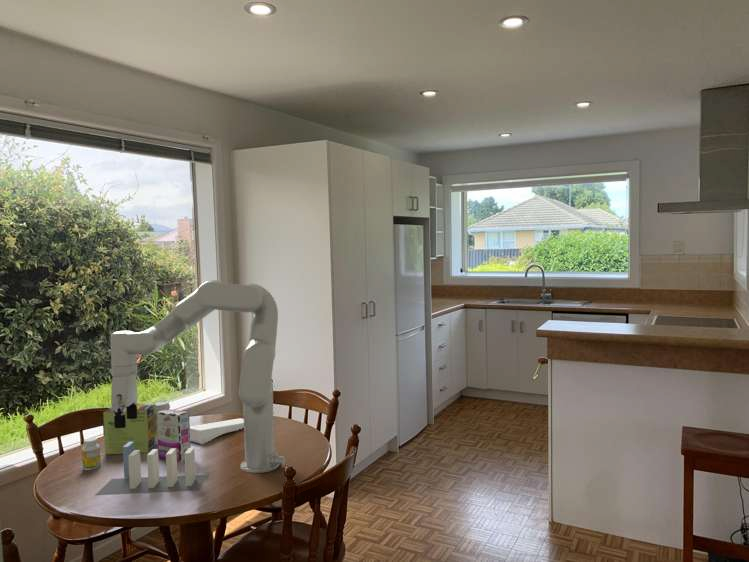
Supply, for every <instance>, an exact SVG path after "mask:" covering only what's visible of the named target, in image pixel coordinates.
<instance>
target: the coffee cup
mask: <svg viewBox="0 0 749 562" xmlns="http://www.w3.org/2000/svg"><path fill="white" fill-rule="evenodd" d="M151 403H155V406H156V412H159V411H162V410H165V409H171V405H170V403H169V401H167V400H158V401H152V402H151ZM156 428H157V416H156Z"/></svg>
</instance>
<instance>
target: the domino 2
mask: <svg viewBox="0 0 749 562" xmlns="http://www.w3.org/2000/svg"><path fill="white" fill-rule="evenodd" d="M146 460H147V461H146V462H147V463H146V464H147V477H148V486H149V488H154V487H155V486H156V485H157V483H158V482H159V477H160V461H159V458H158V448H154V449H153V448H152V449H151V450H150V451H149V452H148V453H147V454H146Z"/></svg>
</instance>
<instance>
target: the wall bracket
mask: <svg viewBox="0 0 749 562" xmlns="http://www.w3.org/2000/svg"><path fill="white" fill-rule="evenodd" d="M242 428H244V418H234V419H228V420H222V421H215V422H209V423H204V424H199V425H192V426H191V425H190V443H196V444H199V445H204V444H206V443H209V442H211V441H212V440H213V439H215V438H217V437H219V436H222V435H223V434H224V435H225V434H228V433H232V432H237V431H240V430H239V429H241V430H243V429H242ZM208 441H209V442H208Z"/></svg>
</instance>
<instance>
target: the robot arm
mask: <svg viewBox="0 0 749 562" xmlns="http://www.w3.org/2000/svg"><path fill="white" fill-rule="evenodd" d="M277 305H278V304H277V302H276V300H275V298H274V297H273V295H272V294H271V293H270V292H269V291H268V290H267V289H266V288H265V287H263V286H261V285H259V284H256V283H248V284H247V283H246V284H238V283H236V284H235V283H225V282H222V281H220V280H217V279H213V280H212V279H211V280H208V281H205V282H203V283H202V284H200V285H199V287H198V288H197V289H196V290H194V292H192V293H191V294H189V295H188V296H187V297H186V298H183V299H182V300H181V301H180V302H178V303H177V304H175V306H173V308H172V310H171V311H170V312H169V313H168V314H167V315H166V316H164V317H163V318H162V319H161V320H160V321H158V322H156V323H155V324H154V325H153V326H151V327H149V328H147V329H145V330H143V331H139V332H136V331H134V330H133V331H132V330H119V331H115V332H112V333H111V335H110V359H111V360H110V361H111V362H110V363H111V376H112V378H111V379H112V380H111V390H110V393H111V396H110V397H111V398H110V399H111V400H110V404H111V405H110V408H111V407H112V408H113V412H114V424H115V428H125V427H126V418H125V415H124V412H125V408H126V407H127V419H137V404H138V383H137V382H138V381H137V375H138V355H140V356H149V355H152V354H154V353H155V352H157V351H158V350H161V349H162V348H163V347H165V346H166V345H168V344H169V343H170V342H171V341H173V340H174V339H175V338H177V337H178V336H179V335H181V334H183V332H185V331H187V330H189V329H191V328H192V327H194V325H196V324H198V323H199V322H201V320H203V319H204V318H206V317H207V316H209V315H210V314H211V313H212V312H214V311H215V310H216V311H226V312H235V313H236V312H237V313H251V321H250V322H251V323H250V330H249V331H250V333H249V338H248V339H249V340H248V344H247V346H246V348H245V349H244V351H243V354H242V360H241V368H240V375H239V386H238V396H239V399H240V401H241V402H242V404H243V408H242V409H243V410H242V411H243V415H242V416H243V419H244V429H243V439H244V441H243V443H244V461H242V462H241V463H240V469H241V471H243V472H246V473H251V474H252V473H253V474H257V473H258V474H264V473H269V472H272V471H274V470H277V468H279V466H280V465H281V466H284V465H285V463H286V459H285V456H282V455H281V456H280V455H278V451H277V450H275V432H274V431H275V430H274V424H275V423H274V384H273V379H272V377H273V369H274V362H275V357H276V347H277V346H276V344H277V333H278V324H279V323H278V322H279V310H278V306H277ZM128 406H129V407H128ZM121 409H122V411H121Z"/></svg>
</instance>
